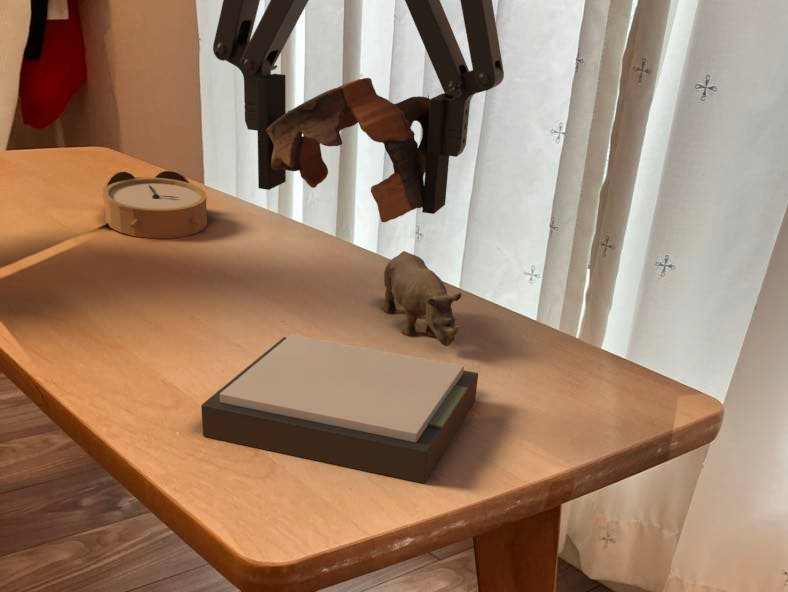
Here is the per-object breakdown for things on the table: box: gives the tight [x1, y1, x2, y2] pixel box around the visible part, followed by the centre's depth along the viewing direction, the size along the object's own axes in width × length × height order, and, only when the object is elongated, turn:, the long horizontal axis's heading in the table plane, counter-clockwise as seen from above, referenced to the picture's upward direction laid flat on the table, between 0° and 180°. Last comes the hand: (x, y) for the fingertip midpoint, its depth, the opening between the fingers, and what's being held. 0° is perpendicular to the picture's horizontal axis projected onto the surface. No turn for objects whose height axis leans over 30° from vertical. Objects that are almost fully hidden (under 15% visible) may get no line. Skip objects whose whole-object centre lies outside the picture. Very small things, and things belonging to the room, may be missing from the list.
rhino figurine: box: [380, 250, 462, 347], centre depth 83 cm, size 4×14×6 cm, turn 21°
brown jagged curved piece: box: [266, 77, 431, 223], centre depth 60 cm, size 12×10×8 cm
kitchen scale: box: [200, 333, 479, 484], centre depth 68 cm, size 16×14×3 cm
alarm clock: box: [101, 169, 208, 239], centre depth 108 cm, size 11×5×15 cm
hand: (351, 196), depth 61 cm, fingers closed on brown jagged curved piece, 10 cm apart
